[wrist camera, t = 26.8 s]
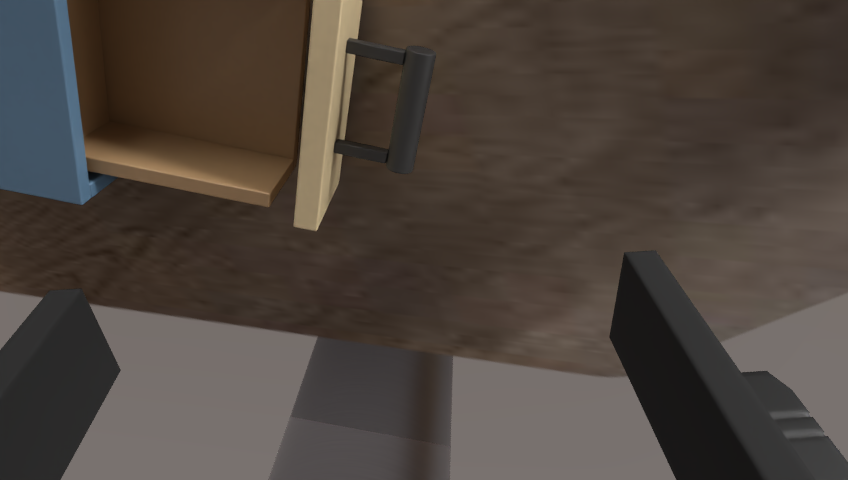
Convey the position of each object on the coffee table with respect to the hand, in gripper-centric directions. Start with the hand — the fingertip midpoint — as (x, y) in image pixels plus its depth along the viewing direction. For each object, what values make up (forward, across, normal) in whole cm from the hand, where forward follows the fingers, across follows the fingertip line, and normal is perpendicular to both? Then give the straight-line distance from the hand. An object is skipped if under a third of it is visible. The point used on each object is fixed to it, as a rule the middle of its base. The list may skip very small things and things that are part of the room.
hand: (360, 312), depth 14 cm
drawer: (+20, -6, +1) cm, 21 cm away
